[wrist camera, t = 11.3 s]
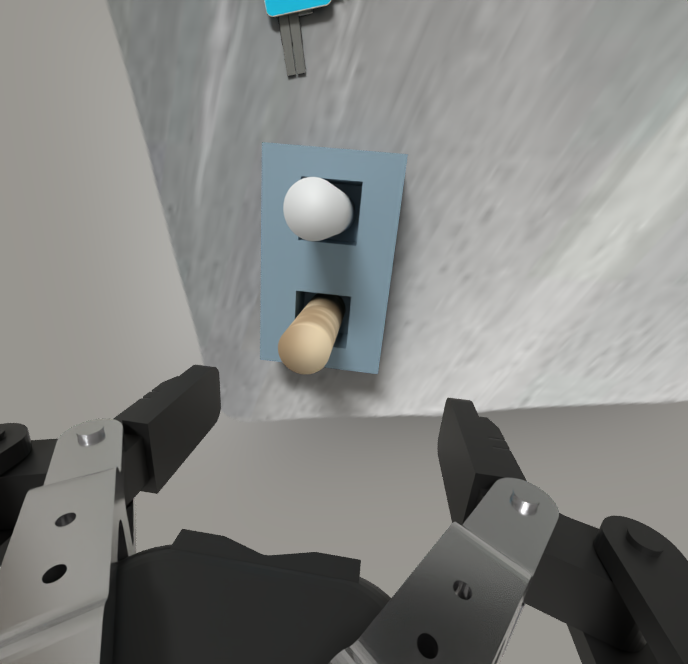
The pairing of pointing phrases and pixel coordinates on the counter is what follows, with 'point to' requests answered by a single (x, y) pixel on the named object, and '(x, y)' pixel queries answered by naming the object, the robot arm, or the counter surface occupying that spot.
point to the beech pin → (312, 334)
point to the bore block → (329, 243)
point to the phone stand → (292, 27)
